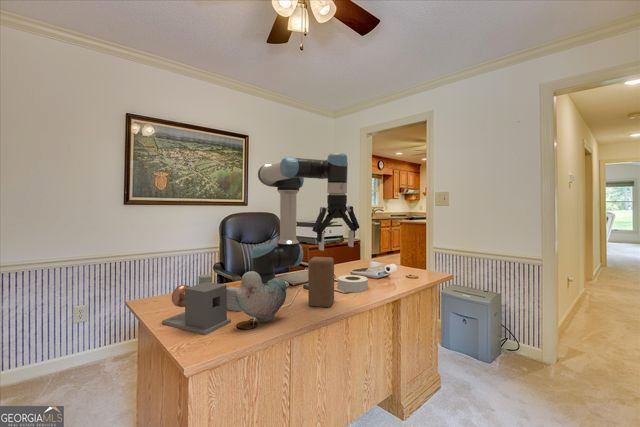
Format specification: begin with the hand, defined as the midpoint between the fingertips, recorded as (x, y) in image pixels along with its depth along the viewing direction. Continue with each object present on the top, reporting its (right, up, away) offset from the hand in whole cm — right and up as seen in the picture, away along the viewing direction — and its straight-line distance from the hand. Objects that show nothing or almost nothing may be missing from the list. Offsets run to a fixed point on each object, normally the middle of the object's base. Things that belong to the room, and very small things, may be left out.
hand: (336, 248), depth 116 cm
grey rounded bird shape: (-28, -27, -6) cm, 39 cm away
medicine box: (-42, -27, +8) cm, 51 cm away
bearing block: (-52, -27, -7) cm, 59 cm away
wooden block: (-6, -27, +15) cm, 31 cm away
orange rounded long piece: (-54, -22, -6) cm, 58 cm away
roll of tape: (+11, -26, +39) cm, 48 cm away
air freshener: (-62, -26, +26) cm, 72 cm away
